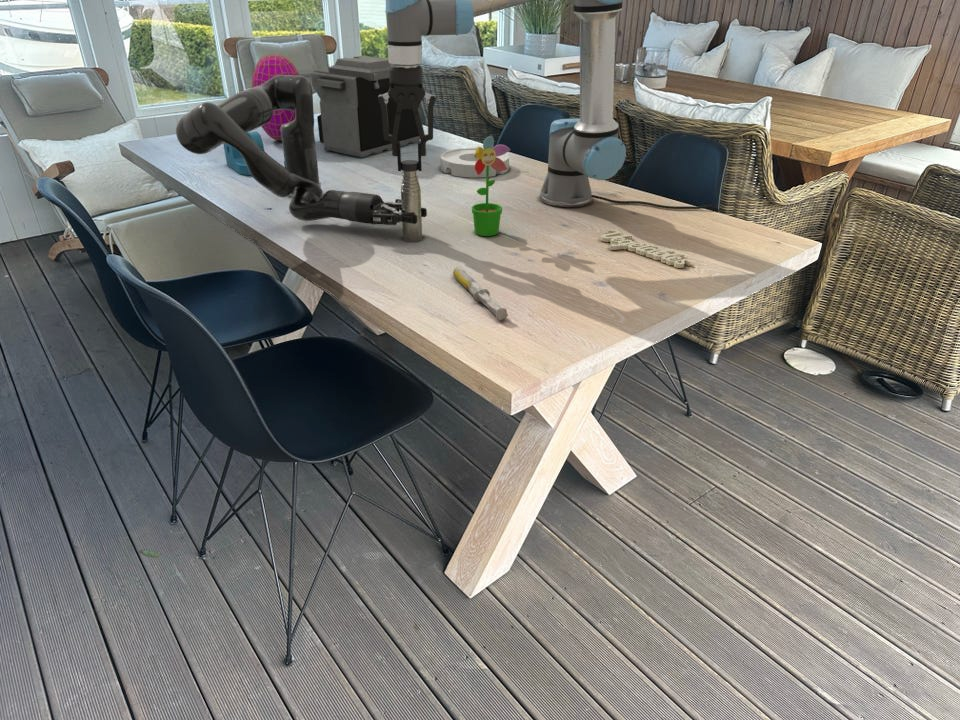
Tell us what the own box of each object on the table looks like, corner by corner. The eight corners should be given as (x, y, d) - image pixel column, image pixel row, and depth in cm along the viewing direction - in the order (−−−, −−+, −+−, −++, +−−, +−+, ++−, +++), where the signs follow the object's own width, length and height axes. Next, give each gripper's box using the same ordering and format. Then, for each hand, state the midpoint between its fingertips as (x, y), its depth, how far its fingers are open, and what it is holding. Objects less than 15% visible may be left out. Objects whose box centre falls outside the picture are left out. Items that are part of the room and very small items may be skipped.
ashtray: (443, 158, 243) (443, 147, 241) (508, 159, 242) (508, 148, 240) (437, 176, 223) (437, 164, 221) (508, 178, 222) (509, 165, 220)
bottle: (426, 237, 175) (423, 164, 166) (413, 243, 172) (410, 168, 162) (411, 233, 178) (408, 161, 168) (399, 238, 174) (395, 165, 165)
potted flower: (478, 239, 174) (479, 138, 161) (464, 230, 180) (464, 131, 167) (510, 234, 178) (514, 134, 165) (496, 224, 184) (498, 128, 171)
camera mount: (227, 164, 233) (221, 132, 227) (257, 160, 238) (252, 129, 233) (244, 176, 220) (239, 143, 215) (276, 172, 225) (271, 139, 220)
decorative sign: (586, 237, 174) (611, 228, 179) (586, 240, 174) (611, 231, 180) (674, 268, 157) (698, 257, 162) (673, 272, 157) (698, 261, 163)
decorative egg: (293, 132, 276) (283, 50, 261) (319, 140, 264) (310, 56, 249) (249, 139, 265) (236, 54, 250) (273, 148, 253) (261, 60, 238)
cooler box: (383, 133, 276) (378, 52, 261) (425, 141, 265) (422, 56, 250) (314, 150, 251) (304, 61, 235) (358, 160, 240) (350, 67, 224)
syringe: (449, 274, 155) (449, 263, 153) (465, 272, 156) (464, 260, 154) (490, 323, 135) (491, 310, 133) (508, 319, 136) (508, 307, 134)
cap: (406, 172, 163) (406, 165, 162) (397, 168, 166) (397, 161, 165) (422, 170, 165) (422, 162, 165) (413, 166, 168) (412, 158, 168)
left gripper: (345, 201, 168) (408, 209, 163) (373, 185, 180) (432, 193, 175) (348, 230, 172) (409, 239, 167) (375, 213, 184) (433, 221, 179)
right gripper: (443, 63, 158) (445, 165, 170) (367, 63, 157) (374, 165, 169) (444, 67, 151) (446, 173, 163) (365, 67, 150) (372, 174, 162)
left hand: (421, 215), depth 171 cm, fingers closed on bottle, 5 cm apart
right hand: (409, 169), depth 166 cm, fingers closed on cap, 4 cm apart
